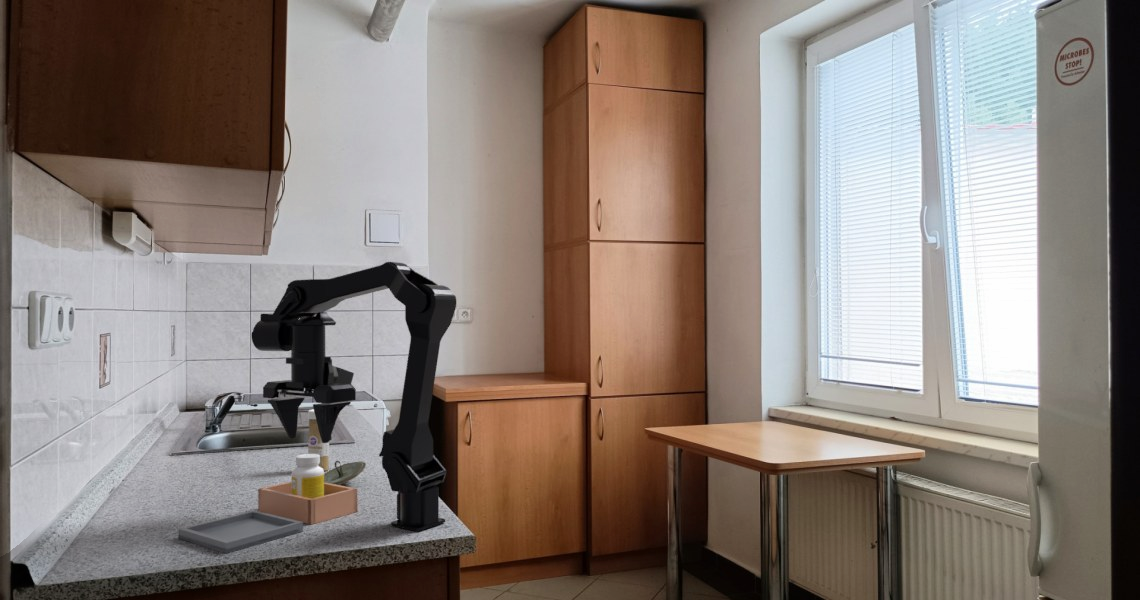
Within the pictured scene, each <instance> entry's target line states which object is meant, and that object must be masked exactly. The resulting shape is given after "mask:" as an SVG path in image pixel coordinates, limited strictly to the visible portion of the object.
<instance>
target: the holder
mask: <svg viewBox="0 0 1140 600" xmlns="http://www.w3.org/2000/svg"><path fill="white" fill-rule="evenodd" d="M257 491H258V492H257V495H258V496H257V498H258V499H257V505H258V506H257V507H258V510H257V511H260V512H264V513H268V514H272V515H276V516H280V517H284V518H288V519H292V520H296V521H300V522H303V524H307V525H315V524H318V523H322V522H325V521H330V520H333V519H337V518H339V517H343V516H347V515H350V514H354V513H357V512H358V488H357V487H356V488H355V487H351V486H350V487H349V486H345V485H342V484H341V485H336V484H330V483H325V482H324V496H321V497H316V498H307V497H303V496H298V495H293V494H292V480H291V481H288V482H283V483H279V484H274V485H270V486H266V487H265V486H264V487H260V488H258V490H257Z"/></svg>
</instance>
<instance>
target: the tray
mask: <svg viewBox="0 0 1140 600" xmlns="http://www.w3.org/2000/svg"><path fill="white" fill-rule="evenodd" d="M177 531H178V532H177V533H178V535H177V536H178V537H177V539H179V540H182V541H185V542H189V543H191V544H194V545H198V546H201V547H205V548H208V549H210V550H214V551H218V552H221V553H224V554H229V553H232V552H235V551H239V550H240V551H241V550H242V549H243V550H244V549H247V548H251V547H253V546H257V545H261V544H264V543H268V542H271V541H274V540H278V539H281V538H285V537H289V536H293V535H295V534H298V533H299V534H300V533H303V532H304V523H303V522H300V521H296V520H292V519H288V518H284V517H280V516H276V515H272V514H268V513H264V512H260V511H258V510H255V509H254V510H250V511H246V512H241V513H238V514H234V515H229V516H226V517H221V518H218V519H213V520H208V521H205V522H201V523H196V524H192V525H188V526H185V527H179V528H178V530H177Z"/></svg>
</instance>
